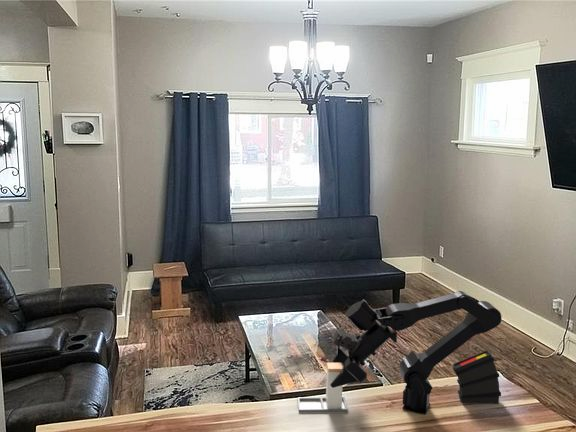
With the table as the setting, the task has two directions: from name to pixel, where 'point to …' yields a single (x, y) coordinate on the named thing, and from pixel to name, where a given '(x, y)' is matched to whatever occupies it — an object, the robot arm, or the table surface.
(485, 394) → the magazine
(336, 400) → the block
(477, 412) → the table surface
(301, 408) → the organiser
